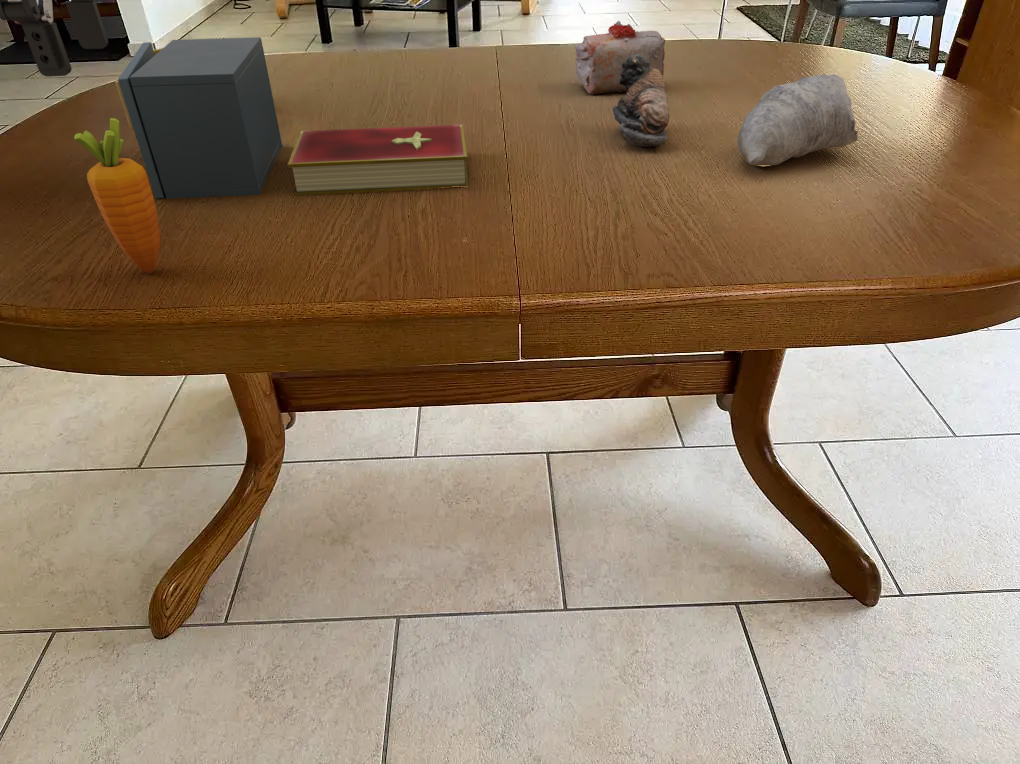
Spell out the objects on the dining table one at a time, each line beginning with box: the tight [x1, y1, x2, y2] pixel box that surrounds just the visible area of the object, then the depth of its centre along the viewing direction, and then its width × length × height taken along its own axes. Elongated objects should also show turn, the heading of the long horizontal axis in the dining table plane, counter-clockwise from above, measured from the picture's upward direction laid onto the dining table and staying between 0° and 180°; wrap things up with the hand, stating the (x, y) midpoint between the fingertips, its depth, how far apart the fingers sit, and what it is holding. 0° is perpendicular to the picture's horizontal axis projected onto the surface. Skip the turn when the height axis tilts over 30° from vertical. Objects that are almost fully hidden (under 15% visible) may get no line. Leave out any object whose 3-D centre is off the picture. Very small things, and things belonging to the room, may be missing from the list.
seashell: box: [737, 73, 859, 167], centre depth 94 cm, size 16×15×10 cm
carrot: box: [73, 117, 161, 275], centre depth 69 cm, size 5×5×15 cm
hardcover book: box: [287, 124, 470, 196], centre depth 93 cm, size 12×21×4 cm, turn 95°
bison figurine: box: [612, 52, 670, 148], centre depth 101 cm, size 12×7×10 cm, turn 9°
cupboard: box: [130, 36, 283, 200], centre depth 91 cm, size 11×17×14 cm, turn 5°
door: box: [114, 41, 166, 200], centre depth 90 cm, size 5×17×14 cm, turn 13°
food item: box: [574, 20, 666, 95], centre depth 120 cm, size 14×8×10 cm, turn 101°
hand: (77, 60), depth 62 cm, fingers open, 8 cm apart
